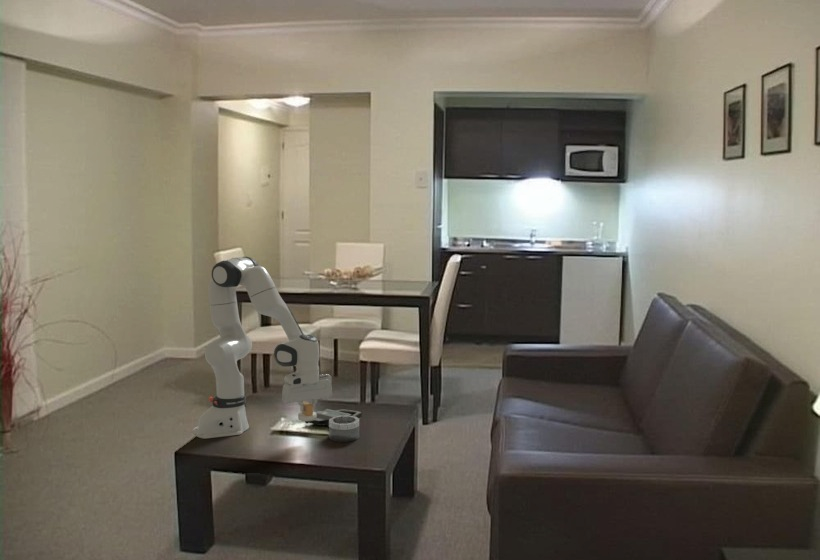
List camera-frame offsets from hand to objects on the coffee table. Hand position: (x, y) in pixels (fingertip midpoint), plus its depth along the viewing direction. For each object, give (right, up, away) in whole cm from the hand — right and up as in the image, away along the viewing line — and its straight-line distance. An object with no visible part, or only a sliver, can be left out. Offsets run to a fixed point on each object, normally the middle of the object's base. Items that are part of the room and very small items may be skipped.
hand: (307, 410), depth 296 cm
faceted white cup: (+14, -12, +6) cm, 19 cm away
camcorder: (+9, -10, +23) cm, 27 cm away
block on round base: (0, -3, 0) cm, 3 cm away
